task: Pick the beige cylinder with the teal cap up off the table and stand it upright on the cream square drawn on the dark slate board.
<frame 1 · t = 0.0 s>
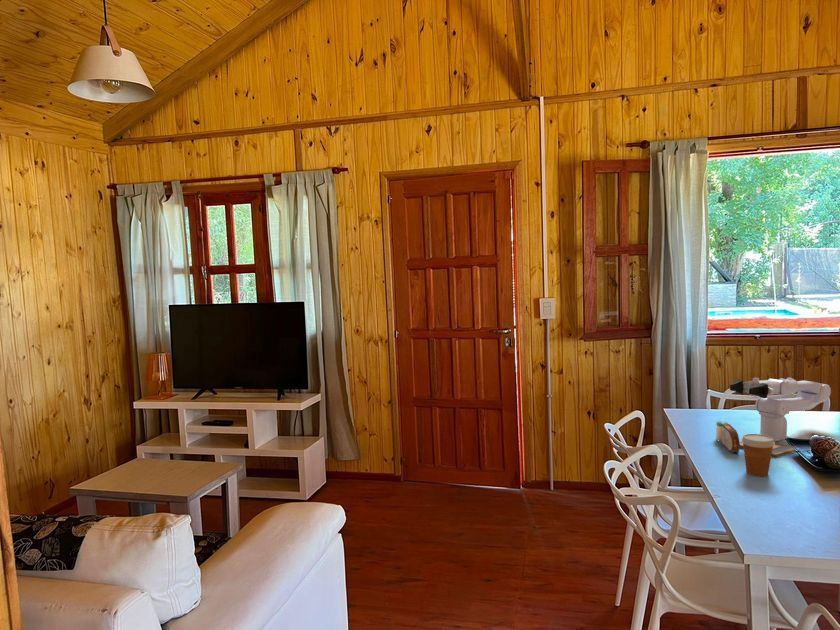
hand: (740, 389, 226), 22 cm above the table, tool horizontal, fingers open, 7 cm apart
slate board: (765, 448, 224), on the table
disposable coffee cup: (757, 473, 200), on the table
beige cylinder: (721, 440, 236), on the table
tin: (729, 449, 225), on the table
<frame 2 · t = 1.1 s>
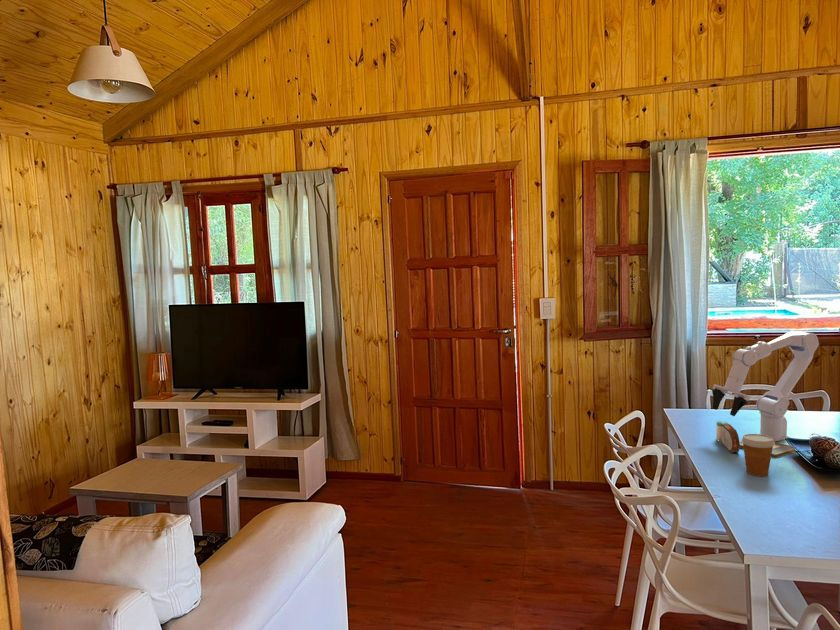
hand: (723, 412, 232), 12 cm above the table, tool tilted 20°, fingers open, 7 cm apart
nothing on the table moved.
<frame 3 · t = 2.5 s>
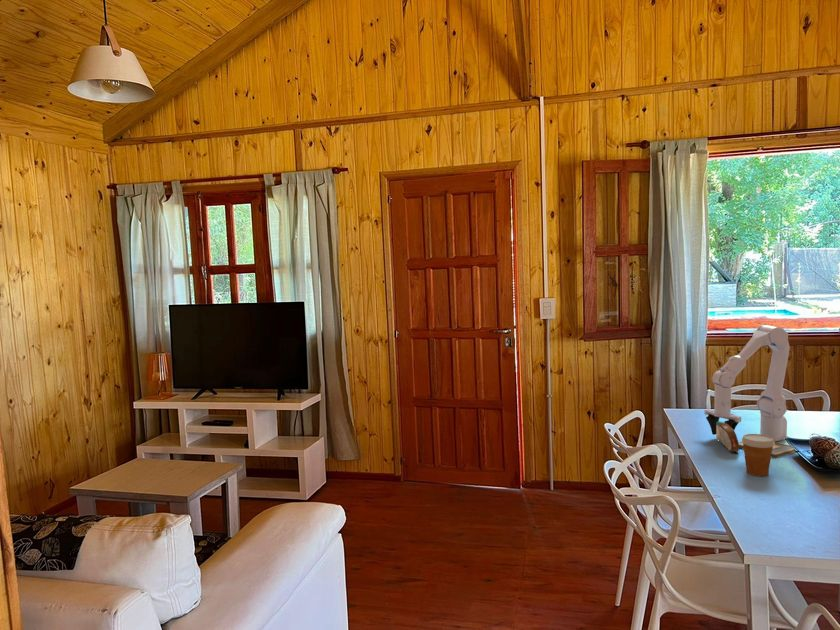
hand: (722, 436, 235), 2 cm above the table, tool pointing down, fingers open, 6 cm apart
tin: (729, 448, 225), on the table, touching gripper
everything else where it was.
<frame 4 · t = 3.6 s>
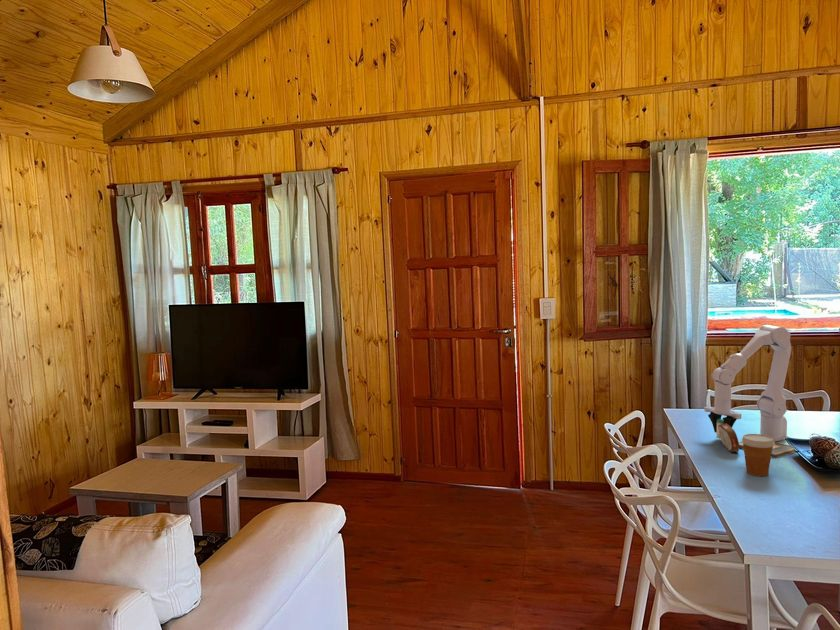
hand: (722, 433, 235), 3 cm above the table, tool pointing down, fingers closed on beige cylinder, 4 cm apart
beige cylinder: (722, 437, 235), point 1 cm above the table, touching gripper
everything else where it was.
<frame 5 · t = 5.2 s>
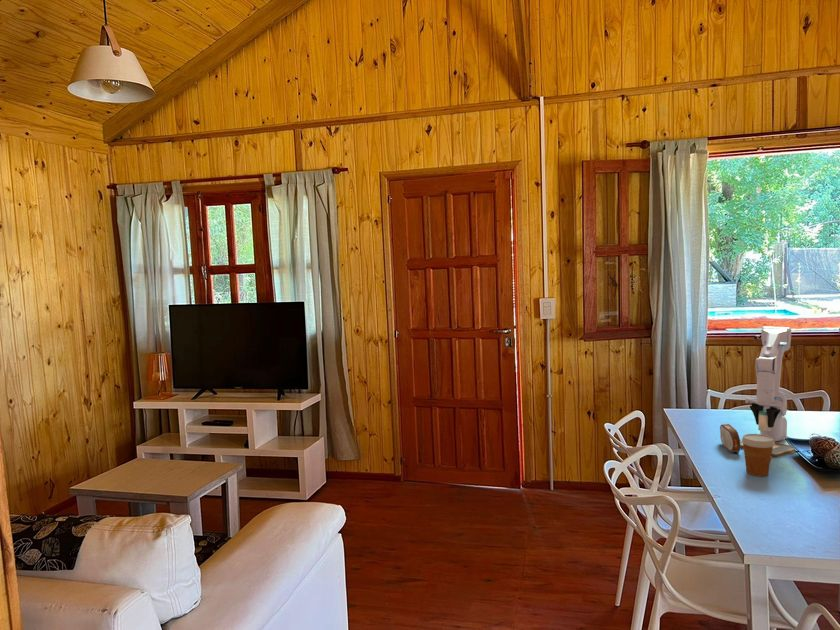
hand: (764, 425, 224), 9 cm above the table, tool pointing down, fingers closed on beige cylinder, 4 cm apart
beige cylinder: (764, 430, 224), point 7 cm above the table, touching gripper
tin: (729, 449, 225), on the table
everything else where it was.
when the fingers open (4 cm above the table, at t = 6.6 s): beige cylinder stays where it is, resting on slate board.
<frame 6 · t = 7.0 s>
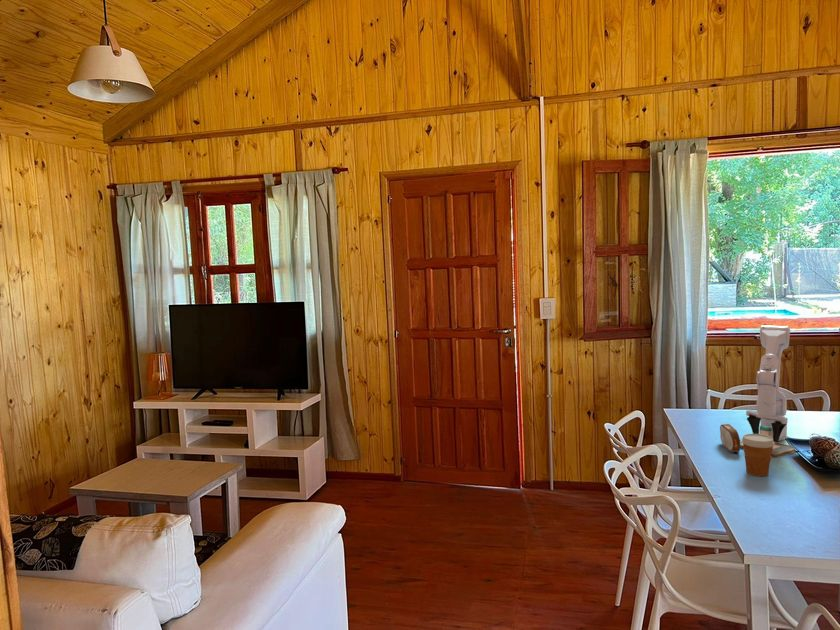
hand: (765, 438, 224), 4 cm above the table, tool pointing down, fingers open, 7 cm apart
beige cylinder: (765, 445, 224), point 1 cm above the table, touching slate board
everything else where it was.
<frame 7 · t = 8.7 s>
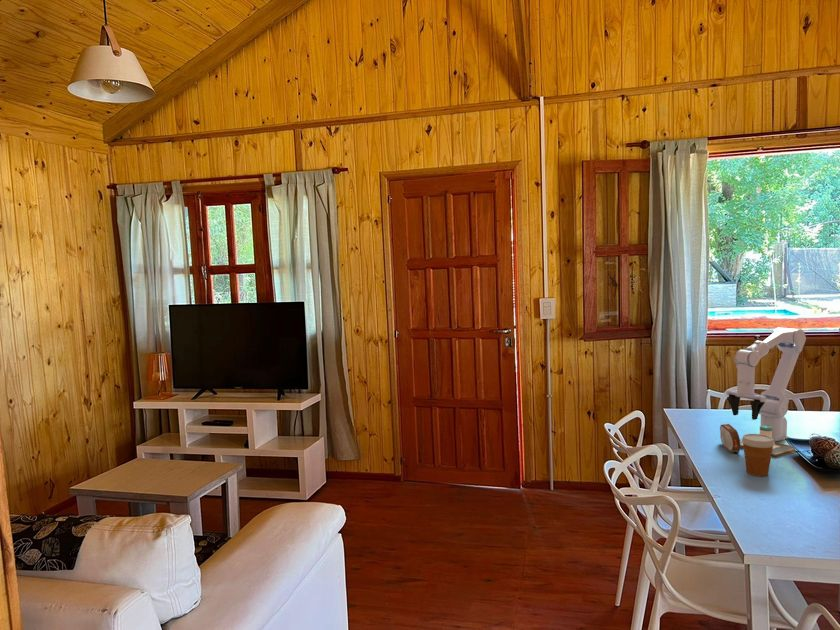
hand: (744, 417, 229), 10 cm above the table, tool pointing down, fingers open, 7 cm apart
nothing on the table moved.
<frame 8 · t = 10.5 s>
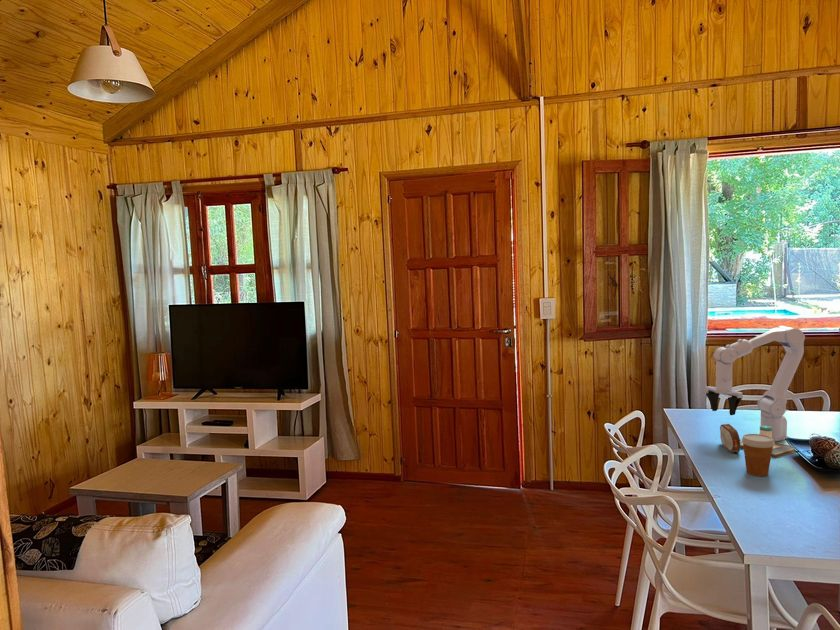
hand: (723, 412, 236), 10 cm above the table, tool pointing down, fingers open, 7 cm apart
nothing on the table moved.
at the end: beige cylinder 0.1 cm off-centre on the slate board, point 1.2 cm above the slate board's base; beige cylinder tilted 0°; the gripper is holding nothing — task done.
